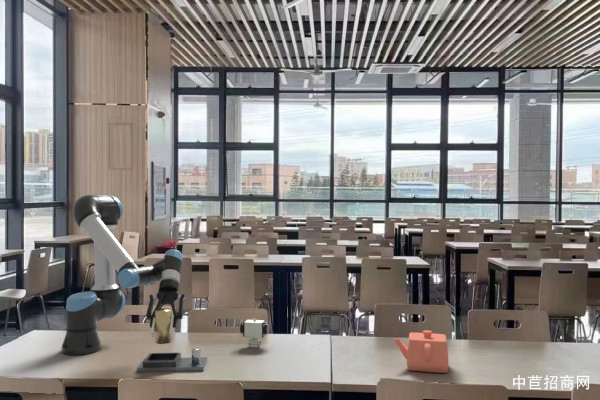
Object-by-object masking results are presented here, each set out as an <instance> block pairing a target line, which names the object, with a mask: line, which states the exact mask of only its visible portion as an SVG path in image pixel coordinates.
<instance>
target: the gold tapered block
mask: <svg viewBox="0 0 600 400" xmlns="http://www.w3.org/2000/svg"><path fill="white" fill-rule="evenodd" d="M172 315H173V311H172V308H168V307H167V308H166V307H164V308H163V307H162V308H161V309H157V310H155V334H154V339H155V343H156V344H157V345H165V344H171V343H172V342H173V341H172V339H173V335H172V336H170V333H169V331H170V324H171V318H172V317H173V316H172Z"/></svg>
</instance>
